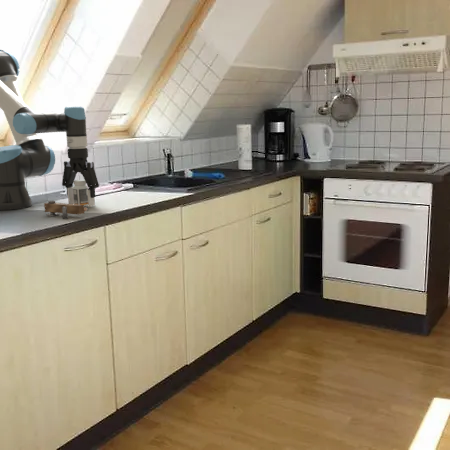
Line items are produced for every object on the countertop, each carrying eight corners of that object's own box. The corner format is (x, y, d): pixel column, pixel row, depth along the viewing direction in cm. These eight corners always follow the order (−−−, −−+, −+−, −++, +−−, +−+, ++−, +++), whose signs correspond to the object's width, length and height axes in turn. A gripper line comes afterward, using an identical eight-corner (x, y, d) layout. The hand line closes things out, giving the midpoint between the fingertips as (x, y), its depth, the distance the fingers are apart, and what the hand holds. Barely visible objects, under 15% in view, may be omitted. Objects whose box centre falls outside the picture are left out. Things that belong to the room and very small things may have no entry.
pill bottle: (90, 204, 231) (88, 179, 229) (87, 206, 226) (85, 181, 224) (75, 204, 231) (74, 179, 229) (72, 207, 225) (70, 181, 223)
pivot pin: (43, 215, 209) (43, 212, 209) (53, 213, 213) (53, 210, 213) (52, 216, 207) (52, 213, 207) (61, 214, 211) (61, 211, 210)
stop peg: (61, 218, 203) (61, 207, 202) (65, 217, 204) (64, 206, 203) (65, 219, 202) (64, 207, 201) (68, 218, 203) (67, 206, 203)
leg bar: (44, 211, 210) (44, 201, 209) (49, 210, 212) (48, 200, 211) (79, 214, 203) (78, 204, 202) (84, 213, 205) (83, 202, 204)
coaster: (54, 211, 217) (53, 210, 217) (74, 207, 225) (74, 206, 225) (73, 213, 212) (73, 212, 211) (93, 209, 220) (93, 208, 220)
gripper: (49, 147, 227) (54, 204, 231) (92, 149, 215) (96, 208, 219) (64, 146, 233) (68, 201, 237) (106, 147, 221) (110, 205, 225)
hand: (81, 205), depth 228 cm, fingers open, 10 cm apart
